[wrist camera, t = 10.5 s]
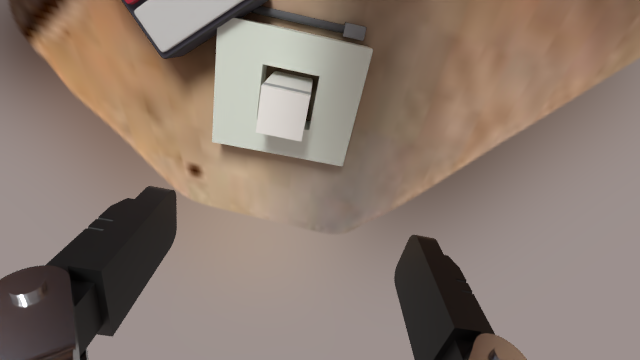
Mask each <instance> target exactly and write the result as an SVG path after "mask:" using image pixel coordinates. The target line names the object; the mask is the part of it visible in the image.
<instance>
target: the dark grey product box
mask: <svg viewBox="0 0 640 360" xmlns="http://www.w3.org/2000/svg"><path fill="white" fill-rule="evenodd" d="M267 1H268V0H122V2H123V3H124V4H125V6H126V7H127V9H128V10H129V12H130V13H131V14H132V16H133V17H134V19H135V20H136V22H137V23H138V24H139V26H140V27H141V29H142V30H143V32H144V33H145V34H146V36H147V37H148V39H149V40H150V42H151V43H152V44H153V46H154V47H155V49H156V50H157V52H158V53H159V54H160V56H161V57H162V58H165V59H167V58H173V57H179V56H183V55H185V54H187V53H188V52H190V51H191V50H193V49H194V48H196V47H197V46H199V45H200V44H202V43H204V42H205V41H207V40H208V39H210V38H211V37H213V36H214V35H216V34H217V28H219V27H220V26H222V25H223V24H225V23H226V22H228V21H229V20H231V19H232V18H242V17H244V16H245V15H247V14H248V13H250V12H251V11H253V10H254V9H256V8H258V7H259V6H261V5H262V4H264V3H265V2H267Z"/></svg>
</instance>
